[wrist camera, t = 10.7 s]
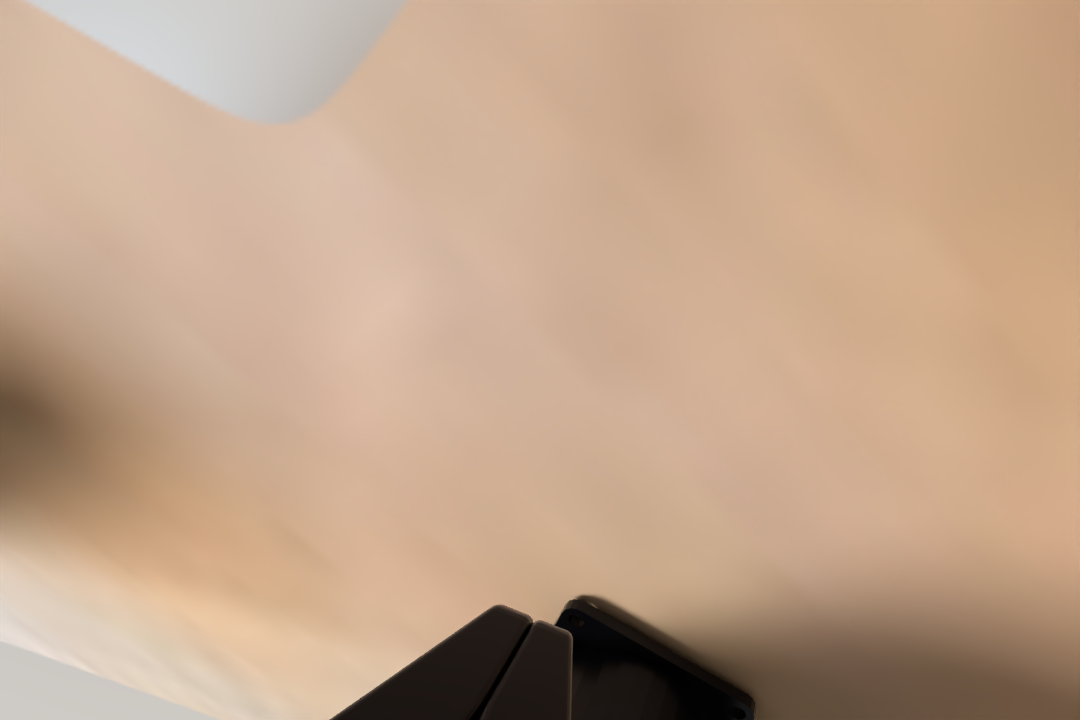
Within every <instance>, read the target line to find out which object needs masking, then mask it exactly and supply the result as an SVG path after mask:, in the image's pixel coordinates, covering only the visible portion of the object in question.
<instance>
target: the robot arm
mask: <svg viewBox="0 0 1080 720" xmlns="http://www.w3.org/2000/svg"><path fill="white" fill-rule="evenodd" d="M576 615H578V616H580V617H581V618H579V617H577V616H576ZM736 707H738V708H741V709H738V708H736ZM755 712H756V703H755V701H754V700H753V698H752V697H750V696H749V695H748V694H746V693H744V692H743V691H741V690H739V689H737V688H736V687H734V686H732V685H730V684H729V683H727V682H725V681H723V680H722V679H720V678H718V677H716V676H715V675H713V674H711V673H709V672H708V671H706V670H704V669H702V668H701V667H699V666H697V665H695V664H693V663H692V662H690V661H688V660H686V659H685V658H683V657H681V656H679V655H678V654H676V653H674V652H672V651H671V650H669V649H667V648H665V647H664V646H662V645H660V644H658V643H657V642H655V641H653V640H651V639H650V638H648V637H646V636H644V635H642V634H641V633H639V632H637V631H635V630H634V629H632V628H630V627H628V626H627V625H625V624H623V623H621V622H620V621H618V620H616V619H614V618H613V617H611V616H609V615H607V614H606V613H604V612H602V611H600V610H599V609H597V608H595V607H593V606H592V605H590V604H588V603H586V602H584V601H581V600H575V599H574V600H570V601H569V602H568V603H567V604H566V605H565V607H564V608H563V610H562V612H561V614H560V615H559V617H558V619H557V621H556V622H555V624H554V625H552V624H549V623H547V622H544V621H541V620H539V621H536V622H534V623H533V619H532V618H531V617H530V616H529V615H527V614H524V613H522V612H519V611H517V610H514V609H512V608H509V607H507V606H504V605H495V606H493V607H491V608H490V609H488V610H487V611H485V612H484V613H482V614H481V615H480V616H478V617H477V618H475V619H474V620H472V621H471V622H470V623H468V624H467V625H465V626H464V627H462V628H461V629H459V630H458V631H457V632H455V633H454V634H452V635H451V636H449V637H448V638H447V639H445V640H444V641H442V642H441V643H439V644H438V645H436V646H435V647H434V648H432V649H431V650H429V651H428V652H426V653H425V654H424V655H422V656H421V657H419V658H418V659H416V660H415V661H413V662H412V663H411V664H409V665H408V666H406V667H405V668H403V669H402V670H401V671H399V672H398V673H396V674H395V675H393V676H392V677H390V678H389V679H388V680H386V681H385V682H383V683H382V684H380V685H379V686H377V687H376V688H375V689H373V690H372V691H370V692H369V693H367V694H366V695H365V696H363V697H362V698H360V699H359V700H357V701H356V702H354V703H353V704H352V705H350V706H349V707H347V708H346V709H344V710H343V711H342V712H340V713H339V714H337V715H336V716H334V717H333V718H331V719H330V720H754V717H755Z"/></svg>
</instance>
